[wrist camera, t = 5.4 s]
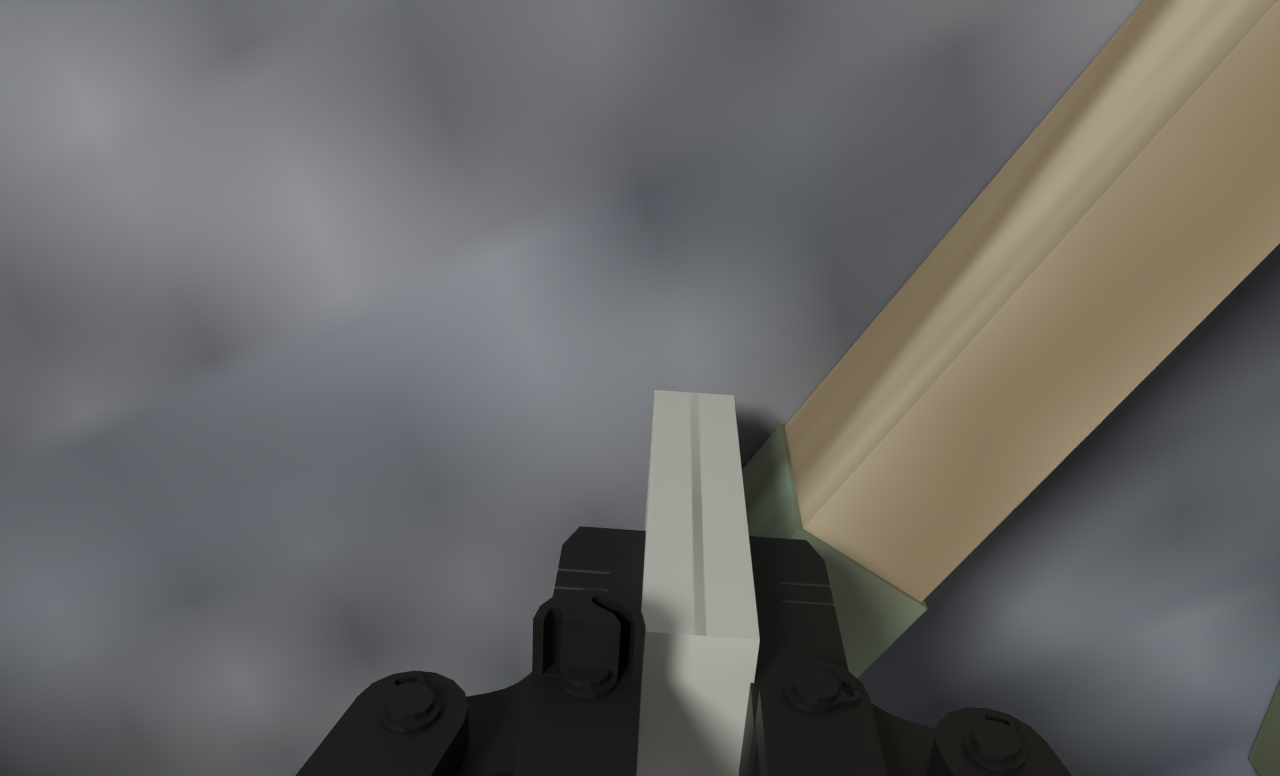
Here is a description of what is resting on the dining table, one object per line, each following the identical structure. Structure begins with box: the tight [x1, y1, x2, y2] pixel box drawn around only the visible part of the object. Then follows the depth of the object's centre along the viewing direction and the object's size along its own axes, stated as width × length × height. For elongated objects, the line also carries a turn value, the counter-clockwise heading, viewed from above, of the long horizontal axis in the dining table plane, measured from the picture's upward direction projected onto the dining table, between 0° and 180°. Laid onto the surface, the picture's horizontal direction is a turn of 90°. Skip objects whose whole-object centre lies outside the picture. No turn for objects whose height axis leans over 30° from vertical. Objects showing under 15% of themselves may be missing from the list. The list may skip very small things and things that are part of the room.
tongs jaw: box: [742, 0, 1280, 678], centre depth 16 cm, size 4×20×4 cm, turn 146°
